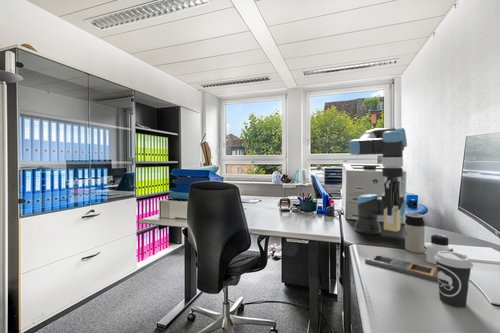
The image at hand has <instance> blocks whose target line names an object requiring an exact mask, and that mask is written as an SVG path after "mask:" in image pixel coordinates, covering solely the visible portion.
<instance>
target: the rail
mask: <svg viewBox="0 0 500 333" xmlns="http://www.w3.org/2000/svg"><path fill="white" fill-rule="evenodd" d="M378 260H379V261H378ZM387 262H389V263H387ZM364 263H366V264H370V265H374V266H376V267H381V268H385V269H388V270H390V271H391V270H392V271H396V272H398V273H402V274H406V275H410V276H414V277H418V278H421V279H425V280H429V281H432V282H436V283H438V274H437V267H432V266H429V265H424V264H420V263H415V262H410V261H406V260H401V259H397V258H394V257H389V256H384V255H380V254H375V253H374V252H373V253H370V255H368V256H367V257H366V258H365V259H364Z"/></svg>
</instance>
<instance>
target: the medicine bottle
mask: <svg viewBox="0 0 500 333" xmlns="http://www.w3.org/2000/svg"><path fill="white" fill-rule="evenodd" d="M439 251H451V252H454V248H453V247H451V246H449V238H448V237H447V236H446V235H442V234H433V235H432V234H431V236H430V244H429V245H427V246H426V251H425V252H426V256H425V257H426V262H427V263H430V264H434V265H436V260H435V259H434V257H435V255H436V254H437V252H439Z"/></svg>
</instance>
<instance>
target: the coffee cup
mask: <svg viewBox="0 0 500 333" xmlns="http://www.w3.org/2000/svg"><path fill="white" fill-rule="evenodd" d="M434 259H435V260H436V264H435V265H436V269H437V274H438V282H437V284H438V294H439V300H440V301H441V302H442V303H443V304H446V305H448V306H450V307H453V308H465V307H466V306H467V300H468V293H469V284H470V277H471V269H473V267H474V265H473V262H472V260H471V258H470V257H469V256H468V255H466V254H463V253H460V252H456V251H453V252H451V251H439V252H437V254H436V255H435V257H434Z"/></svg>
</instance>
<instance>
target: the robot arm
mask: <svg viewBox="0 0 500 333" xmlns="http://www.w3.org/2000/svg"><path fill="white" fill-rule="evenodd" d="M407 141H408V140H407V135H406V130H405V128H404V127H397V126H395V127H384V128H383V127H382V128H373V129H370V130H369V129H368V130H366V131H364V132H363V133H361V134H360V135H359V137H358V139H357V138H356V139H351V140H350V141H349V145H348V149H349V150H348V151H349V154H350V155H352V156H353V155H354V156H363V155H365V156H367V155H382V159H381V160H380V161H381V162H382V167H383V168H382V169H381V170H382V177H384V184H383V186H384V187H383V188H384V189H383V190H384V191H383V193H381V196H379V195H378V194H375V193H373V194H371V193H370V194H369V193H368V194H361V195H358V197H357V220H356V222H355V225H354V231H355V232H358V233H360V234H366V235H378V234H381V232H382V228H381V225H380V222H379V219H378V218H379V217H384V209H386V223H392V224H394V209H400V218H403V217H404V216H405V215H406V214H405V213H406V208H407V198H404V197H405V196H404V194H403V193H402V190H401V188H402V184H401V183H402V182H401V181H402V179H401V178H402V177H403V176H404V171H403V170H404V169H403V168H402V167H404V158H403V157H404V156H403V154H404V153H403V152H404V151H405V148H407V147H408V142H407Z"/></svg>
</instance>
